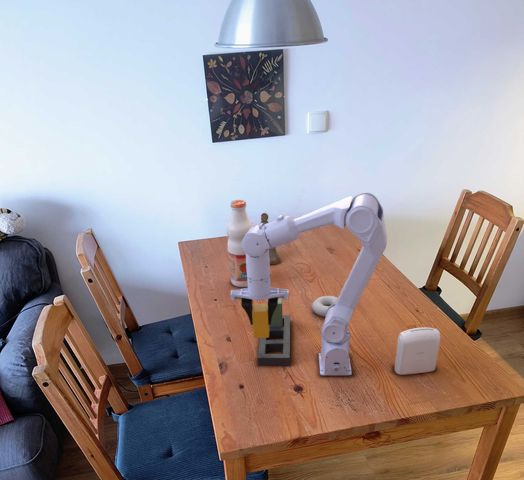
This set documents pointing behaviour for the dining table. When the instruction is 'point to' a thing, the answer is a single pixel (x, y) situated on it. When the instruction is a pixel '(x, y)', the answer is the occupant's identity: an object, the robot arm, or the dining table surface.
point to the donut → (323, 304)
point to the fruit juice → (238, 242)
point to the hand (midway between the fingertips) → (261, 322)
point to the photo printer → (417, 350)
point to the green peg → (277, 316)
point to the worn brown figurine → (272, 251)
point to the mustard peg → (260, 320)
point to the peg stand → (276, 345)
